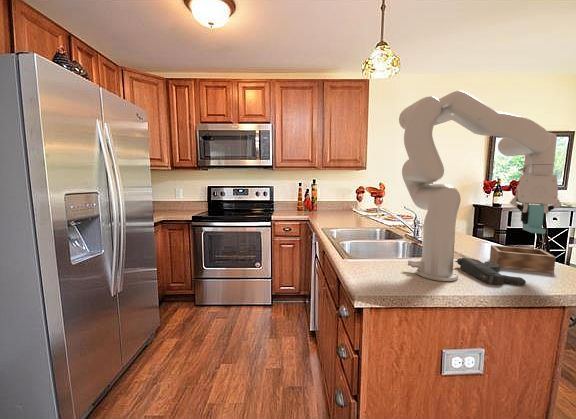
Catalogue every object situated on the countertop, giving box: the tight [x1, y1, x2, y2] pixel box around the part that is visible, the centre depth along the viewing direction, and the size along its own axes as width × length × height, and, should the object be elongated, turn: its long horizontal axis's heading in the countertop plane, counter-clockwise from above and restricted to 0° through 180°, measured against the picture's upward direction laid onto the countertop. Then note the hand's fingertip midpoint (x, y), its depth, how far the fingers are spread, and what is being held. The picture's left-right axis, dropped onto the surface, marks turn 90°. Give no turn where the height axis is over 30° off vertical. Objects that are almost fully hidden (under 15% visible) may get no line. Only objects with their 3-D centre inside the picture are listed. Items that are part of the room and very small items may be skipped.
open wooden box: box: [489, 244, 556, 274], centre depth 105 cm, size 16×12×6 cm
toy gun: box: [454, 257, 527, 287], centre depth 94 cm, size 5×19×15 cm
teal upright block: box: [522, 204, 547, 235], centre depth 92 cm, size 4×9×9 cm, turn 154°
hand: (532, 223), depth 93 cm, fingers closed on teal upright block, 3 cm apart
